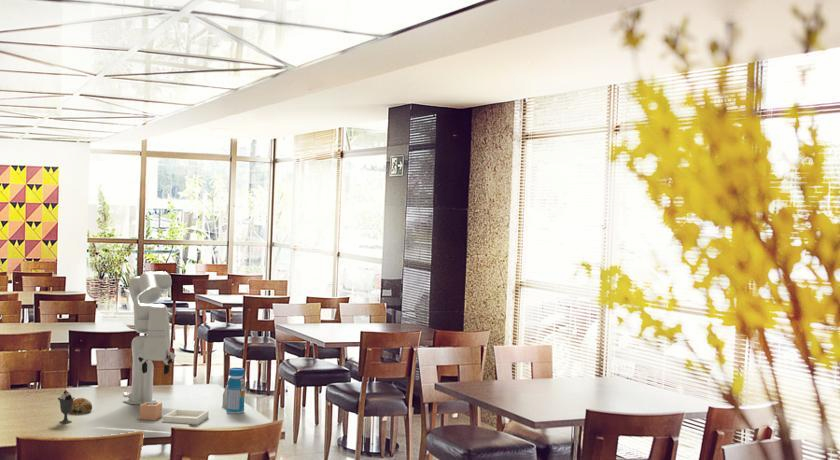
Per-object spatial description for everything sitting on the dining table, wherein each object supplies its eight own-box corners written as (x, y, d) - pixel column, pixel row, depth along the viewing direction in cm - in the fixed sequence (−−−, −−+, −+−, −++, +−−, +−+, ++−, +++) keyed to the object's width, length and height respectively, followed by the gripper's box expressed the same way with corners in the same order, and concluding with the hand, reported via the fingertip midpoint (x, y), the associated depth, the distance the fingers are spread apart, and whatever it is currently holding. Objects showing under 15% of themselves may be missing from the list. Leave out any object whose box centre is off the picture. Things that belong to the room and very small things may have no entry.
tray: (162, 423, 348) (162, 416, 348) (175, 415, 363) (175, 409, 363) (196, 425, 347) (196, 418, 347) (208, 417, 362) (208, 411, 362)
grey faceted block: (233, 409, 382) (234, 387, 382) (222, 407, 385) (223, 385, 385) (238, 407, 385) (239, 386, 385) (227, 405, 388) (228, 384, 388)
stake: (134, 421, 350) (135, 404, 350) (144, 416, 360) (144, 399, 360) (156, 422, 349) (157, 405, 349) (166, 417, 359) (166, 401, 359)
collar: (139, 418, 351) (139, 405, 351) (146, 415, 358) (146, 401, 358) (155, 419, 351) (155, 406, 351) (161, 416, 358) (162, 402, 358)
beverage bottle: (228, 414, 370) (230, 370, 370) (223, 410, 378) (225, 367, 378) (246, 413, 374) (248, 369, 374) (241, 409, 381) (243, 366, 382)
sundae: (59, 420, 346) (61, 384, 346) (76, 420, 347) (77, 385, 347) (54, 424, 339) (55, 387, 340) (70, 424, 340) (72, 388, 340)
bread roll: (93, 419, 365) (99, 402, 368) (79, 414, 356) (85, 396, 359) (75, 417, 368) (81, 400, 371) (60, 411, 359) (67, 393, 362)
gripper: (134, 333, 353) (132, 373, 353) (172, 335, 352) (170, 375, 351) (141, 332, 361) (140, 371, 360) (179, 334, 359) (177, 373, 359)
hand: (155, 373), depth 356 cm, fingers open, 9 cm apart
